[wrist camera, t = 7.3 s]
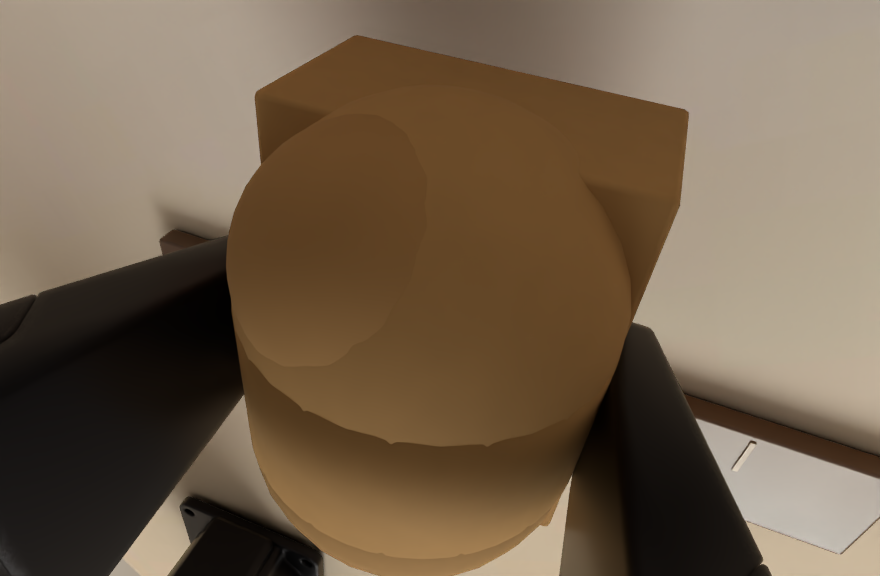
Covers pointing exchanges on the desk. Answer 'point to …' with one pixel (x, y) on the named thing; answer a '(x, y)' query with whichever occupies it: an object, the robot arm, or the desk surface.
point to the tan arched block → (438, 294)
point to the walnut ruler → (769, 468)
